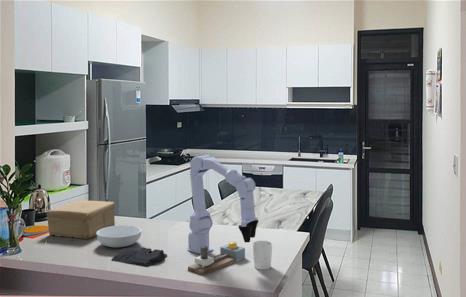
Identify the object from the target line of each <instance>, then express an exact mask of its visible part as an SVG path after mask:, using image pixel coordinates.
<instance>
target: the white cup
mask: <svg viewBox="0 0 466 297" xmlns="http://www.w3.org/2000/svg"><path fill="white" fill-rule="evenodd" d="M252 249H253V250H252V252H253V267H254V268H255V269H257V270H260V271H265V270H270V269H271V267H272V266H271V265H272V253H273V243H272V242H271V241H268V240H256V241H254V242H253V243H252Z"/></svg>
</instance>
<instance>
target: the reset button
mask: <svg viewBox="0 0 466 297" xmlns="http://www.w3.org/2000/svg"><path fill="white" fill-rule="evenodd" d="M227 245H228V248H229V249H232V250H234V249H237V246H238V245H237V242H236V241H229V242H228V244H227Z"/></svg>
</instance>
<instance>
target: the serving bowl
mask: <svg viewBox="0 0 466 297" xmlns="http://www.w3.org/2000/svg"><path fill="white" fill-rule="evenodd" d="M96 234H97V235H96V238H97V240H98V241H99V243H100V244H101V245H103V246H106V247H110V248H117V249H119V248H126V247H129V246H131V245H133V244H135V243H137V242H138V241H139V239H140V238H141V236H142V229H141V227H138V226H135V225H129V224H128V225H123V224H122V225H121V224H119V225H115V226H110V227H106V228H102V229H100V230H98V231H97V232H96Z"/></svg>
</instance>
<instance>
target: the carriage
mask: <svg viewBox="0 0 466 297" xmlns="http://www.w3.org/2000/svg"><path fill="white" fill-rule="evenodd" d="M213 257H214V256H212V257H211V256H209V252H208V247H207V246H201V247H200V254H199V255H198V256H196V257H194V264H196V263H197V265H200V264H201V265H202V267H206V266H208V265H210V264H211V263H214V258H213Z"/></svg>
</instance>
